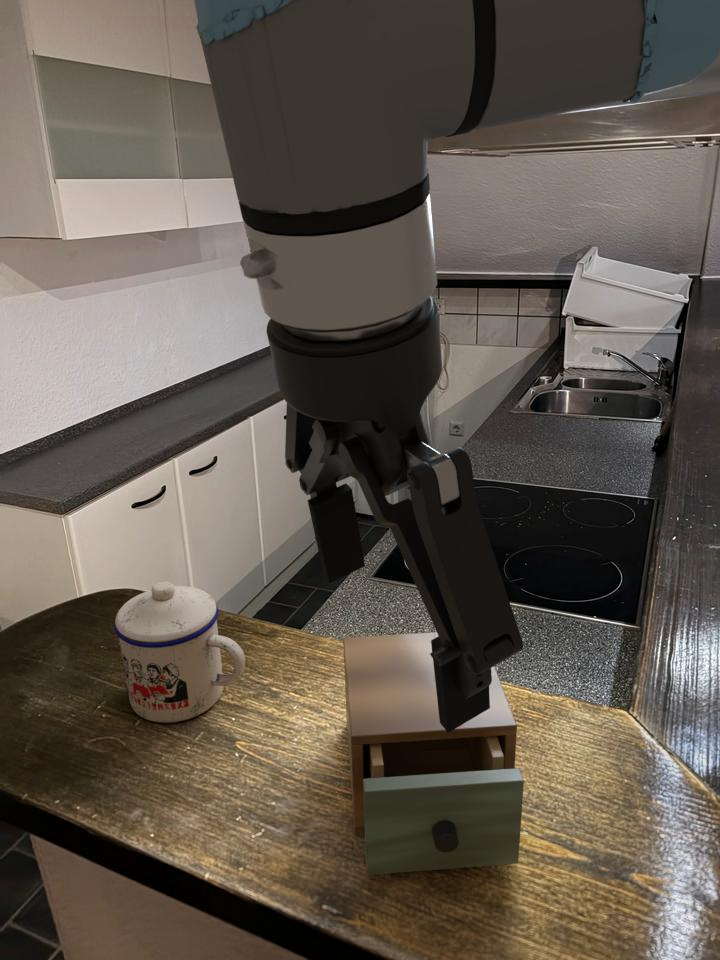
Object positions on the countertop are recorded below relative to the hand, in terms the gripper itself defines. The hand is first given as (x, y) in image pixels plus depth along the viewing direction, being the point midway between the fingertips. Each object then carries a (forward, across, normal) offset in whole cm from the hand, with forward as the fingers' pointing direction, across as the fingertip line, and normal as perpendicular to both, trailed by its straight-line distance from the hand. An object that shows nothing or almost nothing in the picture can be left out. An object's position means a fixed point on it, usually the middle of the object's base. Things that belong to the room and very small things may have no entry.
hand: (398, 636), depth 45 cm
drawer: (+19, +1, 0) cm, 19 cm away
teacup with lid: (+22, -22, -12) cm, 33 cm away
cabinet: (+21, -4, +2) cm, 22 cm away
